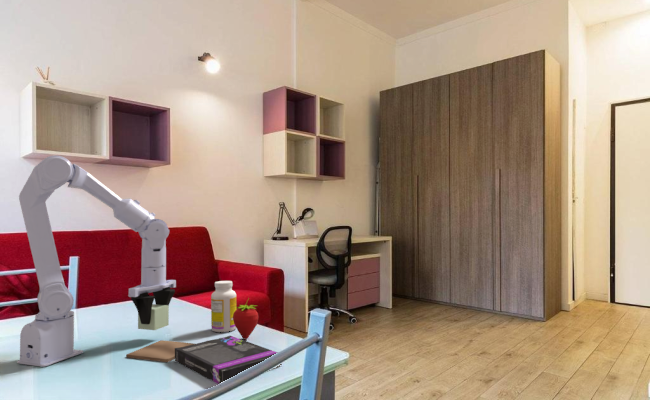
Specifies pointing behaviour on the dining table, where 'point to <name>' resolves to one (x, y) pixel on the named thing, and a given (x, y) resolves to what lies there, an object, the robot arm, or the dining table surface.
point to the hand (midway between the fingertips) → (153, 321)
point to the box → (221, 357)
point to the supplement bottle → (223, 307)
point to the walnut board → (158, 351)
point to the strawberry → (245, 319)
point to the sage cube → (156, 318)
